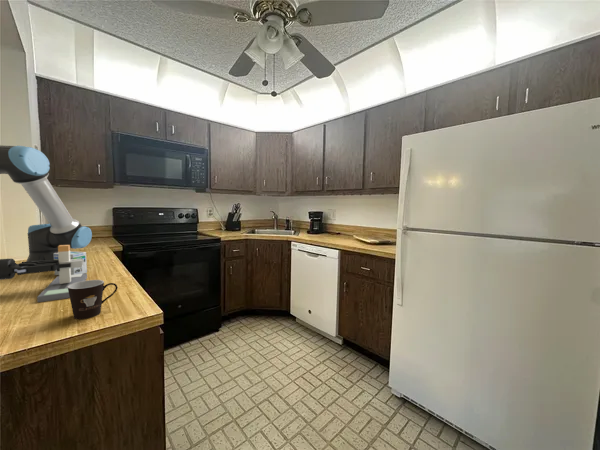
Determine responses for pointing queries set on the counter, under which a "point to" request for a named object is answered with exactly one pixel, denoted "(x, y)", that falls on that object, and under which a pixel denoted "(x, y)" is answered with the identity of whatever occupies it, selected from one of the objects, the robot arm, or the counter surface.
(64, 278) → the breaker lever
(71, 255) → the light bulb box
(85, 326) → the counter surface
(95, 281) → the coffee mug
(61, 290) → the plate
